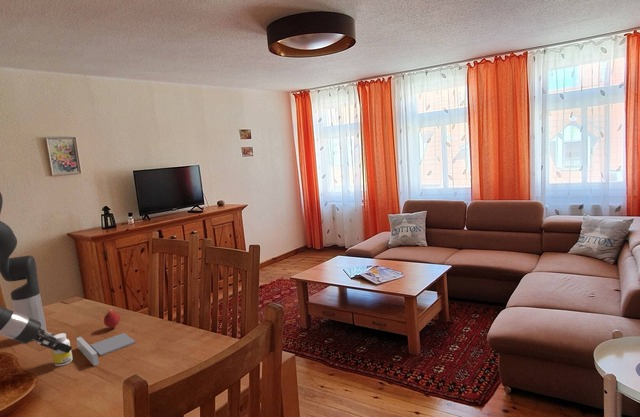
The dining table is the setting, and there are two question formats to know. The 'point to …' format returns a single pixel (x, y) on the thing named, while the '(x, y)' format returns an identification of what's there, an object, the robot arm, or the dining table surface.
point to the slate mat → (112, 344)
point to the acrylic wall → (87, 351)
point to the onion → (111, 319)
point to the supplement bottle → (61, 356)
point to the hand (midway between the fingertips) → (67, 347)
